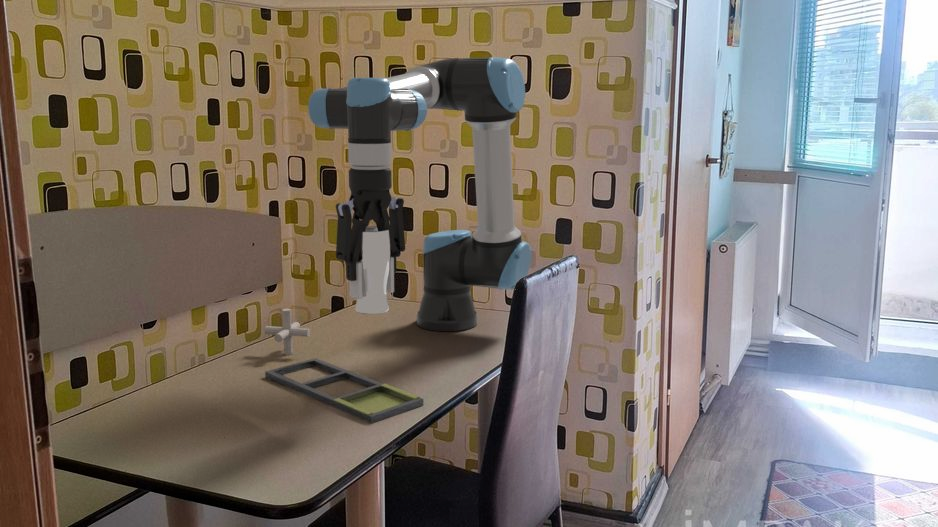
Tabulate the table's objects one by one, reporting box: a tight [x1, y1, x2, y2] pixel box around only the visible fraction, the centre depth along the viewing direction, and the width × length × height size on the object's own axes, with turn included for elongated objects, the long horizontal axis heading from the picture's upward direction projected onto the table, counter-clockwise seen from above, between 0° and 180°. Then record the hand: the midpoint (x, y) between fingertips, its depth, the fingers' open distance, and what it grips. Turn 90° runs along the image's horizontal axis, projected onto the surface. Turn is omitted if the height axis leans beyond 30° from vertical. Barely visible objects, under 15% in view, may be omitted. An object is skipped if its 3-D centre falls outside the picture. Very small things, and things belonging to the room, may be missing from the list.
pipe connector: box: [264, 308, 311, 356], centre depth 189 cm, size 10×10×10 cm
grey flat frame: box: [264, 358, 424, 424], centre depth 167 cm, size 12×34×1 cm, turn 45°
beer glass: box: [355, 225, 391, 315], centre depth 155 cm, size 7×7×15 cm
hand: (372, 294), depth 156 cm, fingers closed on beer glass, 7 cm apart
